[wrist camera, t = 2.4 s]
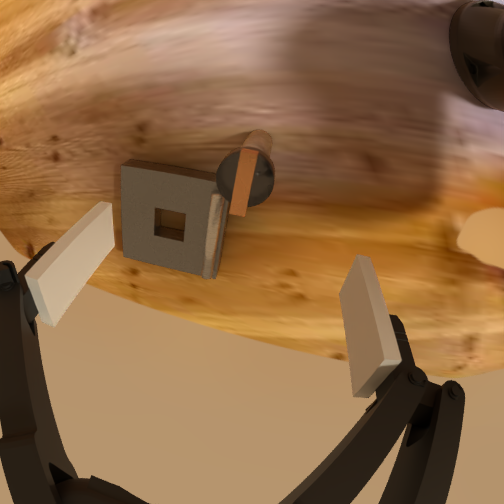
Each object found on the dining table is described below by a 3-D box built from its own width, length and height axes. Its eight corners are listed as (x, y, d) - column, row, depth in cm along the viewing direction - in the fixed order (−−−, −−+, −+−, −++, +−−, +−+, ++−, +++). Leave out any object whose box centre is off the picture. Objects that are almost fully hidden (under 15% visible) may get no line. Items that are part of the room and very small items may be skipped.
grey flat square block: (130, 159, 36) (114, 169, 32) (234, 177, 36) (228, 190, 33) (130, 247, 44) (118, 263, 40) (219, 268, 44) (213, 286, 40)
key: (244, 117, 32) (218, 147, 20) (282, 126, 32) (280, 159, 20) (236, 158, 35) (208, 209, 23) (273, 166, 35) (265, 221, 23)
